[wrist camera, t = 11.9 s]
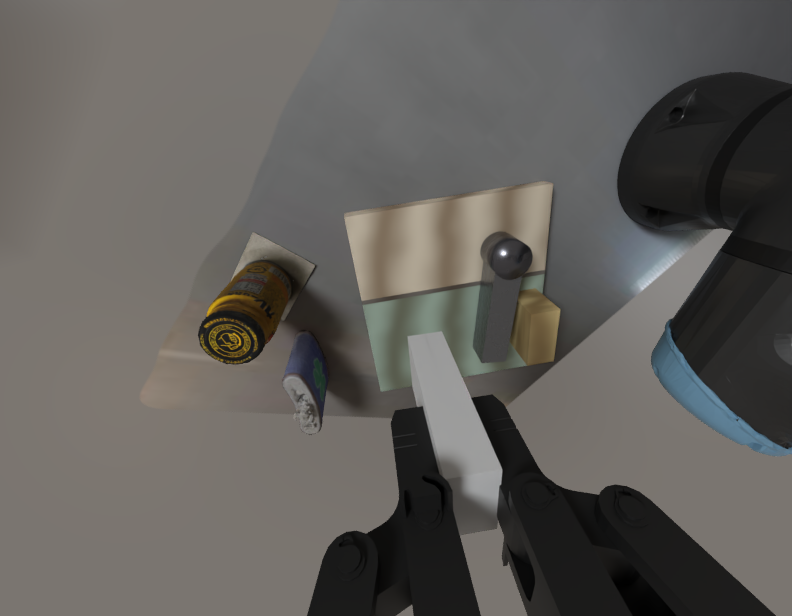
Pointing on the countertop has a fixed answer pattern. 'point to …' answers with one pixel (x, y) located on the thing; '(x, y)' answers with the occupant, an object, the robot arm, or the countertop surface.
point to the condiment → (253, 302)
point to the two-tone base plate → (449, 276)
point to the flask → (307, 381)
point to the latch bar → (499, 294)
